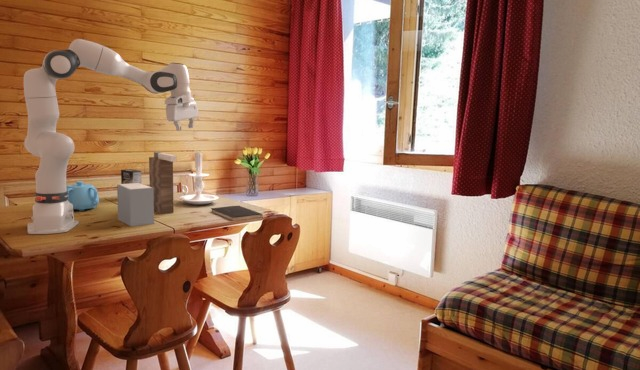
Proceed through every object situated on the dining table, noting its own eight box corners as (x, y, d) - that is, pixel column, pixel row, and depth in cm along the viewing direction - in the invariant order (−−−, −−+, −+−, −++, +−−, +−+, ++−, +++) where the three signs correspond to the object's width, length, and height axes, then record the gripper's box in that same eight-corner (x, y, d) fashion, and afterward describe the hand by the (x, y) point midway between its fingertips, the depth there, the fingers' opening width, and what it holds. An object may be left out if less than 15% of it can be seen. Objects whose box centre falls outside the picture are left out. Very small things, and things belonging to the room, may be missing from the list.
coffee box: (121, 199, 258) (120, 169, 256) (130, 197, 264) (130, 168, 261) (132, 200, 254) (132, 171, 251) (142, 199, 259) (141, 170, 257)
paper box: (154, 223, 206) (153, 187, 203) (130, 226, 199) (129, 189, 197) (140, 216, 218) (139, 182, 215) (118, 219, 211) (117, 184, 209)
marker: (176, 161, 217) (176, 155, 217) (171, 161, 216) (171, 155, 215) (159, 157, 232) (159, 152, 232) (154, 157, 230) (153, 152, 230)
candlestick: (196, 197, 270) (196, 148, 266) (226, 203, 256) (226, 152, 251) (166, 202, 254) (165, 150, 250) (196, 208, 239) (195, 154, 235)
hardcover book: (232, 222, 216) (232, 217, 216) (210, 212, 234) (210, 208, 234) (262, 218, 226) (262, 213, 226) (239, 209, 244) (239, 205, 243)
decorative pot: (60, 213, 220) (58, 184, 217) (63, 206, 234) (61, 179, 232) (98, 211, 226) (97, 183, 224) (99, 204, 241) (98, 178, 239)
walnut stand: (173, 212, 228) (172, 159, 224) (161, 214, 224) (160, 160, 220) (161, 207, 239) (160, 156, 235) (150, 209, 235) (149, 157, 231)
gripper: (189, 97, 226) (192, 126, 229) (161, 100, 208) (165, 132, 211) (200, 97, 224) (203, 126, 227) (173, 100, 205) (177, 132, 209)
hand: (185, 129), depth 219 cm, fingers open, 8 cm apart
